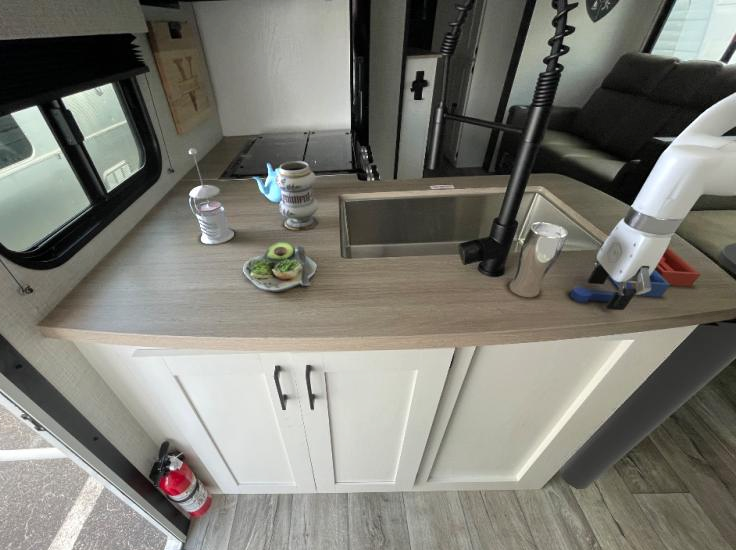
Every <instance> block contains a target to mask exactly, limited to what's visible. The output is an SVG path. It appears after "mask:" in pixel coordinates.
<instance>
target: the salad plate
mask: <svg viewBox="0 0 736 550" xmlns="http://www.w3.org/2000/svg"><path fill="white" fill-rule="evenodd" d="M305 253H306V252H305V248H304V247H303V246H301V245H298V246H297V247H296V248H295V246H294V245H293V244H291V243H289V242H286V241H279V242H276V243H274V244H272V245H270V246H269V247H268V248H267V249H266V253H264V254H261V255H258V256H254V257H252V258H250V259H248V260H247V261H245V263H244V264H243V267H242V271H243V275H244V276H245V278H247V279H248V280H249V281H250V282H251V283H252V284H254V286H256V287H258V289H260V290H262V291H266V292H277V293H280V292H287V291H289V290H292V289H294V288H296V287H297V286H300V285H301V286H302V287H309V286H310V279H311V278H312V277H313V276H314V275H315V272H316V270H317V264H316V262H315V261H314V260H312V259H311V258H310V257H308V256H307V255H306V254H305Z"/></svg>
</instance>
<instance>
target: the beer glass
mask: <svg viewBox="0 0 736 550" xmlns="http://www.w3.org/2000/svg"><path fill="white" fill-rule="evenodd" d="M568 235H569V233H568V230H567V229H566V228H564V227H563V226H561V225H558V224H555V223H551V222H541V221H540V222H534V223H533V224H531V226H530V227H529V229H528V232H527V234H526V236H525V238H524V240H523V242H522V246H521V249H520V252H519V257H518V264H517V270H516V273H515V275H514V277H513V279H512V280H511V281H510V283H509V285H508V286H509V289H510V291H511V292H512V293H513V294H515V295H517V296H520V297H524V298H535V297H537V296H538V295H539V293H540V289H541V286H542V285H541V284H542V282H543V280H544V278H545V277H546V276H547V274H548V272H549V271H550V270H551V269H552V267H553V266H554V264H555V263H556V261H557V260H558V258H559V256H560V254H561V253H562V250H563V248H564V245H565V242H566V239H567V237H568Z"/></svg>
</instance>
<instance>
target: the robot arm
mask: <svg viewBox="0 0 736 550" xmlns="http://www.w3.org/2000/svg"><path fill="white" fill-rule="evenodd" d="M735 127H736V92H734V93H732V94H730V95H728V96H727V97H725V98H723V99H721V100H719V101H717V102H716V103H715V104H713V105H712V106H710V107H709V108H707V109H706V110H705V111H704V112H702V113H701V114H700V115H699V116H698V117H697V118H695V119H694V121H692V123H690V124H689V125H688V126H687V127H686V128H685V129H684V130H683V131H682V132H681V133H680V134H679V135H678V136H677V137H676V138H675V139H674V140H673V141H672V142H671V143H670V144H669V145H668V147H667V148H666V149H665V150H664V151H663V152H662V153H661V154H660V156H659V157H658V159H657V161H656V163H655V164H654V166H653V167H652V170H651V171H650V173H649V175H648V176H647V178H646V180H645V182H644V183H643V185H642V187H641V189H640V191H639V192H638V194H637V195H636V197H635V200H633V203H632V205H631V206H630V208H629V210H628V212H627V213H626V215H625V216H624V217H623V218H622V219H621V220H620V221H618V223H617V224H616V225H615V227H614V228H613V229H612V231H611V232H610V234H609V235H608V236H607V238H606V239H605V241H603V242H601V244H600V249H599V250H598V252H597V254H596V261H595V264H594V266H595V267H594V268H593V270H592V272H591V274H590V275H589V277H588V278H587V283H588V284H593V285H604V284H605V282H606V281H607V280H608V279H609V275H610V276H611V277H612V278H613V279H614V280H615V281H616V282H619V288H618V287H617V288H618V289H617V291H614V292H615V293H614V294H613V295H612V297H611V298H610V300H609V301H607V303H606V305H605V308H606V309H607V310H615V311H623V310H625V309H626V307H627V306H628V304H629V303H630V302H631V300H632V299H633V298H636V297H638V296H639V295H642V294H644V293H646V292H649V291H650V290H651V283H650V277H649V276H650V275H651V274H652V272H653V271H654V269H655V268H656V266H657V265H658V263H659V261H660V260H661V258H662V256H663V254H664V252H665V251H666V249H667V247H669V245H670V242H671V239H672V236H673V235H674V234H675V232H676V231H677V229H678V228H679V227H680V225H681V224H682V222H683V221H684V220H685V218H686V217H687V215H688V214H689V212H690V211H691V209H692V208H693V207H694V205H695V204H696V202H697V201H698V200H699V198H700V197H701V196H703V195H711V196H721V197H734V196H736V140H733V139H729V138H724V137H721V136H723V135H724V134H726V133H727V132H728V131H730V130H732V129H733V128H735ZM630 278H633V280H629V279H630ZM627 283H632V286H631V288H630V289H626V284H627ZM639 297H640V296H639Z"/></svg>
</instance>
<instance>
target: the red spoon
mask: <svg viewBox="0 0 736 550" xmlns="http://www.w3.org/2000/svg"><path fill="white" fill-rule="evenodd" d="M664 261H665V258H664V257H663V256H662V258H661V260H660V261H659V263H658V265H659V266H660V267H662V268H663V269H664V270H665V271H674V270H673V269H672V268H671V267H670V266H669V265H667V264H666V263H665V262H664Z"/></svg>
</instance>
